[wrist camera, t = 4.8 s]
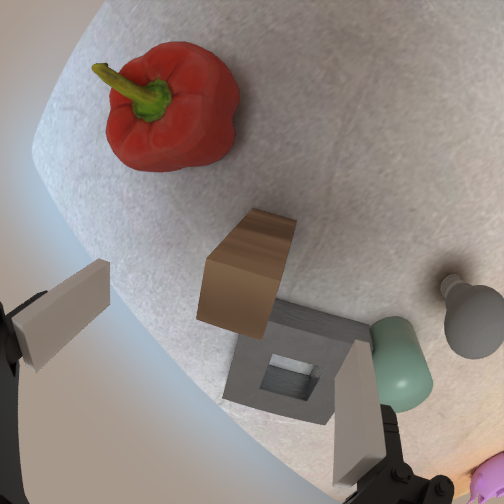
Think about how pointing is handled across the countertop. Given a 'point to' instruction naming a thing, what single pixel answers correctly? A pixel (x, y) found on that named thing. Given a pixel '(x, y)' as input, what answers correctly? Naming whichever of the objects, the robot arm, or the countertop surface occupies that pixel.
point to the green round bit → (399, 364)
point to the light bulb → (472, 318)
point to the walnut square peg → (246, 274)
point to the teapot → (488, 479)
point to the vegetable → (171, 108)
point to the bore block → (298, 348)
